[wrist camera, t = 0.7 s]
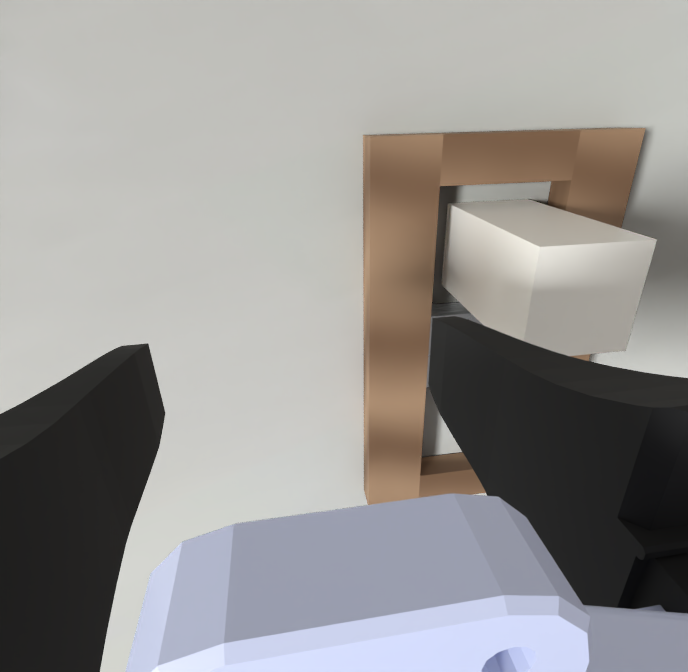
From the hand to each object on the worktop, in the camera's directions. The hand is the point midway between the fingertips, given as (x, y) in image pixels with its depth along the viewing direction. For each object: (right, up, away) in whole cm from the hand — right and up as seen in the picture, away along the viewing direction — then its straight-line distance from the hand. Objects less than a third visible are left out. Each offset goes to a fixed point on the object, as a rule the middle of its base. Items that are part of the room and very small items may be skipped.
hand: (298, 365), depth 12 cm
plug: (+8, +5, +11) cm, 14 cm away
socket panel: (+8, +1, +13) cm, 15 cm away
